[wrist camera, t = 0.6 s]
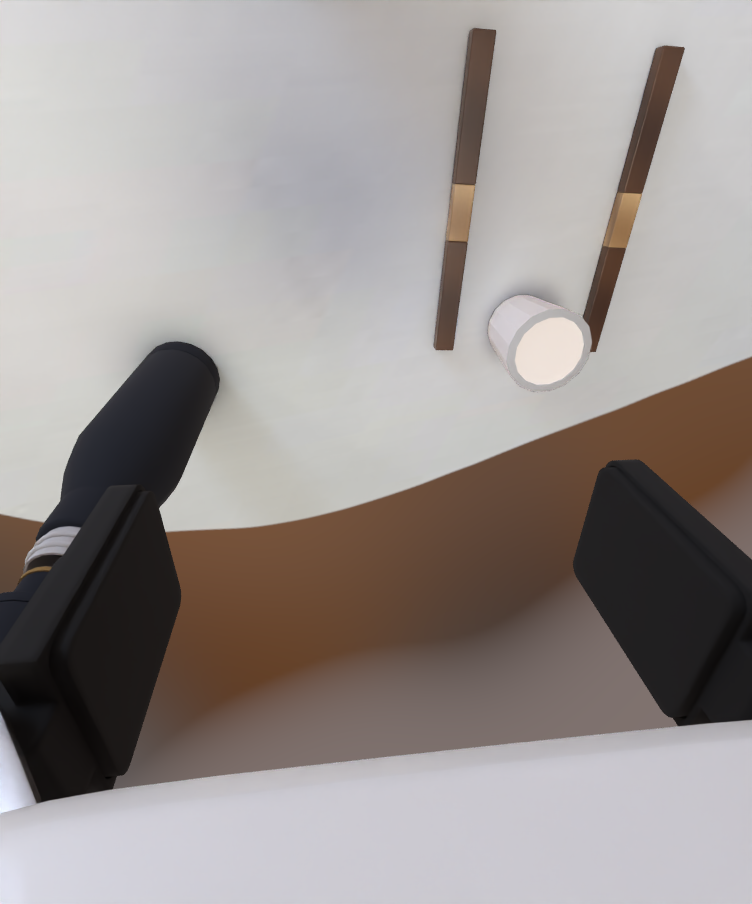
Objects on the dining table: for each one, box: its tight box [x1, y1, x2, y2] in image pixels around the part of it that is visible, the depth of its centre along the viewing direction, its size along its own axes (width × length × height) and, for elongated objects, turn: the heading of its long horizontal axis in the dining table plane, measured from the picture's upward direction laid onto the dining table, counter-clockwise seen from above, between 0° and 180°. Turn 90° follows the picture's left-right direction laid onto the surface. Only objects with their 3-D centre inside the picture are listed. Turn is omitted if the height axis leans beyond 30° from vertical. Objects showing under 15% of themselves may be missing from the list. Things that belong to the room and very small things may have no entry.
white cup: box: [488, 295, 592, 392], centre depth 41 cm, size 7×7×7 cm
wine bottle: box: [0, 342, 220, 644], centre depth 30 cm, size 6×6×30 cm
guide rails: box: [434, 28, 685, 352], centre depth 39 cm, size 22×15×1 cm
